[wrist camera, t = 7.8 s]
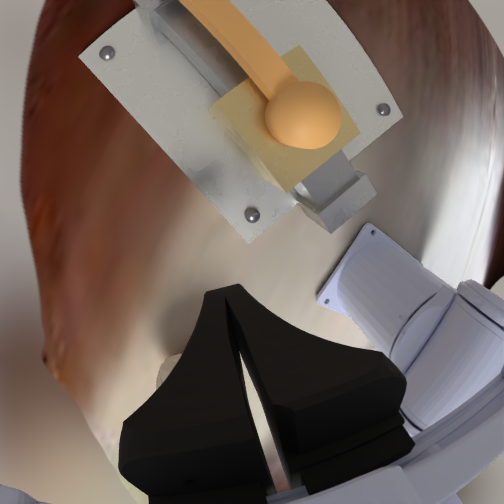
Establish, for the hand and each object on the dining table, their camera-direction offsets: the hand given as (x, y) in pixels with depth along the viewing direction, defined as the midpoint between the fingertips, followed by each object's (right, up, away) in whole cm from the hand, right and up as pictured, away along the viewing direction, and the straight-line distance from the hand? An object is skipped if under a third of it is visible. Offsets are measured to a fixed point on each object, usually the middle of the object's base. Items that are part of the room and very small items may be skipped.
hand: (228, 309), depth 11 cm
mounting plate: (+1, +14, +6) cm, 15 cm away
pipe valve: (+1, +12, +6) cm, 14 cm away
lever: (0, +12, +1) cm, 12 cm away
